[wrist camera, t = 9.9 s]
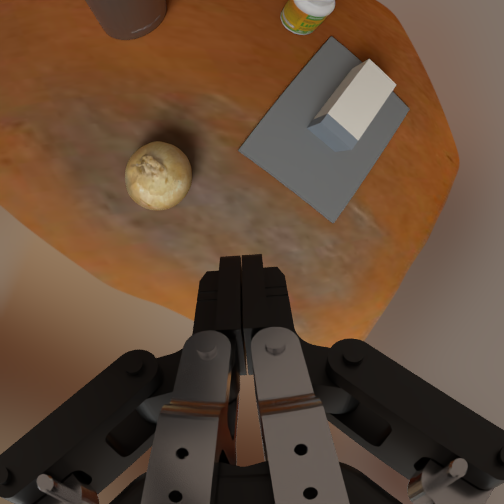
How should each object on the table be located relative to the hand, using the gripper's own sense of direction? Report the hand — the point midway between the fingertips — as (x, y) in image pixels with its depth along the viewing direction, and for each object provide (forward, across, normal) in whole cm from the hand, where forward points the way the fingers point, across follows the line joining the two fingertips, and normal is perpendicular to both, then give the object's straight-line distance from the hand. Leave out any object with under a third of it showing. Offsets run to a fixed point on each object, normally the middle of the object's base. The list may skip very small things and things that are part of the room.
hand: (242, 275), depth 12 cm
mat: (+33, -12, +1) cm, 35 cm away
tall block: (+29, -11, +2) cm, 31 cm away
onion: (+28, +10, +6) cm, 30 cm away
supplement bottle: (+38, -9, -14) cm, 41 cm away
